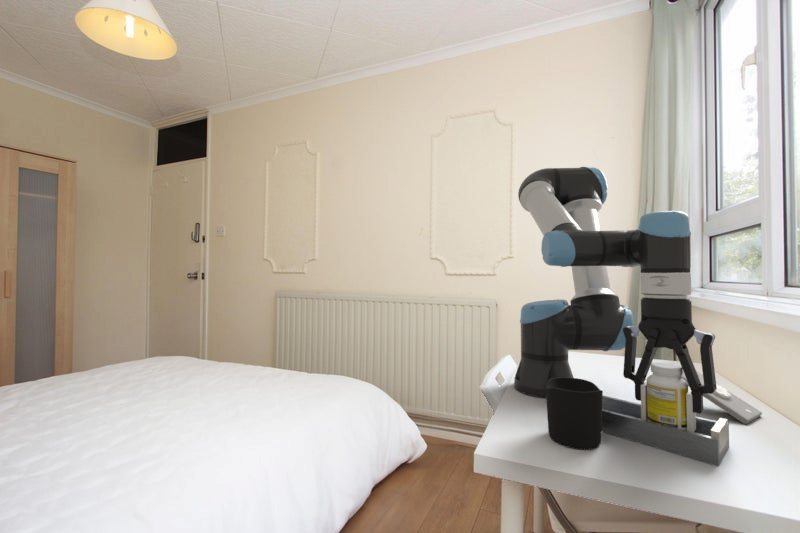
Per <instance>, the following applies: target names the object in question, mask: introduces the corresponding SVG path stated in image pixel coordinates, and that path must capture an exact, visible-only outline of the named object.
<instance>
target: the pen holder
mask: <svg viewBox="0 0 800 533" xmlns="http://www.w3.org/2000/svg"><path fill="white" fill-rule="evenodd" d="M603 393H604V392H603V390H601V389H600V388H599V387H598V386H597V385H596V384H595V383H594V382H592V381H590V380H587V379H583V378H577V377H576V378H575V377H574V378H566V377H559V378H551V379H549V380H548V381H547V382H546V398H545V399H546V412H547V428H548V435H549V437H550V438H551V440H552V441H553V442H554V443H556V444H559V445H561V446H563V447H566V448H570V449H575V450H593V449H596V448H598V447H599V446H600V445H601V444H602V432H601V429H602V397H603V396H604V394H603Z"/></svg>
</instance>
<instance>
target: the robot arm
mask: <svg viewBox="0 0 800 533" xmlns="http://www.w3.org/2000/svg"><path fill="white" fill-rule="evenodd" d="M608 189H609V188H608V182H607V177H606V176H605V174H604V172H603V171H602V170H600V169H599V168H597V167H587V166H580V167H556V168H554V167H553V168H552V167H547V168H541V169H538V170H536V171H534V172H532V173H531V174H529V175H528V176H527V177H525V178H524V179H523V181H522V182H521V184H520V185H519V188H518V193H517V195H518V196H517V197H518V201H519V203H520V206H521V207H522V208H523V209H524V210H525V211H526V212H528V213H530V215H531V217H532V218H533V220H534V221H535V224H536V225H537V227H538V229H539V230H540V232H541V234H542V236H543V237H542V240H541V250H540V251H541V255H542V260H543V262H544V263H545V264H546V265H547V266H552V267H561V268H566V267H567V268H568V267H571V272H572V273H571V274H572V279H573V280H572V281H573V287H574V296H572V298H571V299H570V301H569V302H570V304H569V303H568V301H567V300H566V299H546V300H537V301H532V302H527V303H525V304H523V306H522V307H521V310H520V320H519V323H520V360H519V363H518V367H517V369H516V373H515V376H514V381H513V382H514V383H513V384H514V389H515V390H516V391H519V392H520V393H522V394H525V395H529V396H533V397H539V398H544V399H547V398H546V382H547V381H548V380H549V379H551V378H559V377H566V378H575V377H574V374H573V371H572V368H571V366H570V362H569V351H603V352H609V351H621V350H623V349H624V361H623V372H622V373H623V374H622V375H623V377H624V378H625V379H629V380H631V381H632V382H633V383H634V398H635V400H636V401H639V402H640V404H641V419H643V420H648V419H647V383H646V382H647V377H648V374H649V370H650V369H651V363H653V360H654V358H655V355H656V353H657V350H658V349H659V348H660V349H662V348H665V349H669V350H674V354H675V355H676V357H677V359H678V361H679V363H680V366H682V369H683V371H684V374H685V376H686V379H687V381H688V384H689V386H690V387H689V386H688V387H689V389H690V390H688V393H687V394H686V407H687V431H691V432H694V431H695V430H696V417H697V414H699V415H700V414H701V413H702V412H704V411H703V410H704V396H703V394H707V393H709V394H712V393H713V392H714V391H715V390H716V389H717V387H716V384H717V380H716V372H715V364H714V355H713V345H714V342H715V339H716V334H714V333H712V332H709V333H707V332H704V331H701V330H697V329H696V326H694V324H693V317H692V316H693V314H692V313H693V312H692V310H693V309H692V300H690V298H688V296H691V295H692V273H691V270H692V269H691V266H692V265H691V260H692V259H691V236H692V231H691V230H690V221H689V220H690V219H689V215H688V213H686V212H684V211H678V210H669V211H668V210H666V211H665V210H664V211H656V212H649V213H645V214H643V215H642V216H641V217H640V219H639V224H638V225H639V226H638V228H637V229H631V230H627V229H626V230H601V229H600V223H599V217H598V212H599V211H600V210H602V206H603V205H604V204H605V202H606V201H607V198H608ZM639 266H640V293H641V295H644V297H641V299H640V316H641V317H640V318H641V319H640V322H639V323H638V325H634V324H635V323H634V316H633V313H632V311H631V309H630V307H628V306H627V305H624V304H621V303H620V297H619V295H617V294H616V293H615V292H613V291H612V290H611V284H610V278H609V273H608V269H607V267H622V268H623V267H624V268H628V267H629V268H634V267H639ZM640 332H641V334H642V335H643V336H644V338H645V339H646V340H647V341H646V344H645V347H644V351H643V354H642V357H641V359H640V362H639V365H638V367H637V370H636V358H637V357H636V356H637V343H638V339H637V337H639V334H640ZM693 337H695V339H696V343H697V344H698V345H700V346H699V353H700V361H701V368H702V375H703V380H704V385H702V384H701V382H700V380H699V377H698V375H697V372H698V371H697V370H696V368H695V365H694V362H693V360H692V358H691V356H690V351H689V348H688V345H687V343H688V342H689V341H690V340H691V339H692V338H693ZM635 371H636V372H635ZM696 371H697V372H696ZM645 381H646V382H645Z"/></svg>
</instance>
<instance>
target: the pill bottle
mask: <svg viewBox="0 0 800 533" xmlns="http://www.w3.org/2000/svg"><path fill="white" fill-rule="evenodd" d="M650 370H651V371H650V372H651V374H650V375H647V376H646V383H647V419H648V421H651V422H655V423H659V424H663V425H667V426H671V427H675V428H679V429H683V430H687V407H686V394H687V393H688V392H689V386H688V384H687V382H686V381H685V380H684V379H682V378H681V376H682V374H683V369H682V366H681V364H680V365H679V364H676V363H675V364H674V363H669V362H652V363H651V366H650Z"/></svg>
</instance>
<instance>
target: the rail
mask: <svg viewBox="0 0 800 533" xmlns="http://www.w3.org/2000/svg"><path fill="white" fill-rule="evenodd" d="M729 424H730V423H728V418H723V417H719V418H718V420H714V419H710V418H705V417H701V416H696V430H695V431H694V432H691V431H687V430H683V429H679V428H675V427H671V426H667V425H663V424H659V423H655V422H651V421H648V420H643V419H641V403H638V402H634V401H630V400H624V399H622V398H621V399H619V398H616V397H612V396H606V395H603V397H602V429H601V433H605V434H608V435H612V436H614V437H619V438H622V439H625V440H628V441H632V442H635V443H639V444H643V445H645V446H650V447H652V448H655V449H659V450H662V451H665V452H669V453H673V454H676V455H678V456H679V455H680V456H682V457H686V458H689V459H693V460H697V461H700V462H702V463H707V464H710V465H713V466H716V467H719V466H720V465H721V463H722V461H723V459H724V457H725V456H726V454H727V452H728V450H729V448H730V431H729V430H730V426H729Z"/></svg>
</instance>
